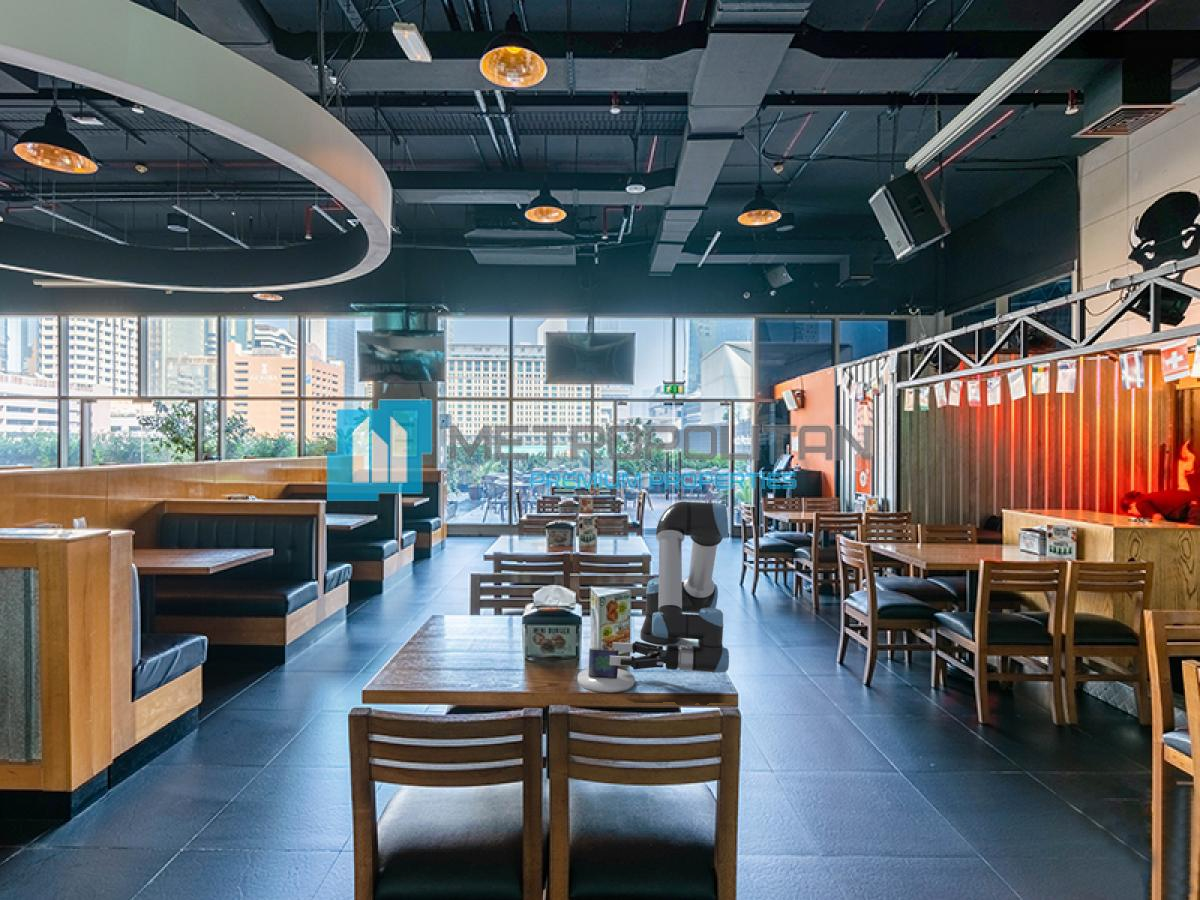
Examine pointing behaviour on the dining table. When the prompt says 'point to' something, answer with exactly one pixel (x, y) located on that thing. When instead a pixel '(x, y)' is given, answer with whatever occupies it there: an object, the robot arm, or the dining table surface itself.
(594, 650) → the flask
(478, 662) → the dining table surface
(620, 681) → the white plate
